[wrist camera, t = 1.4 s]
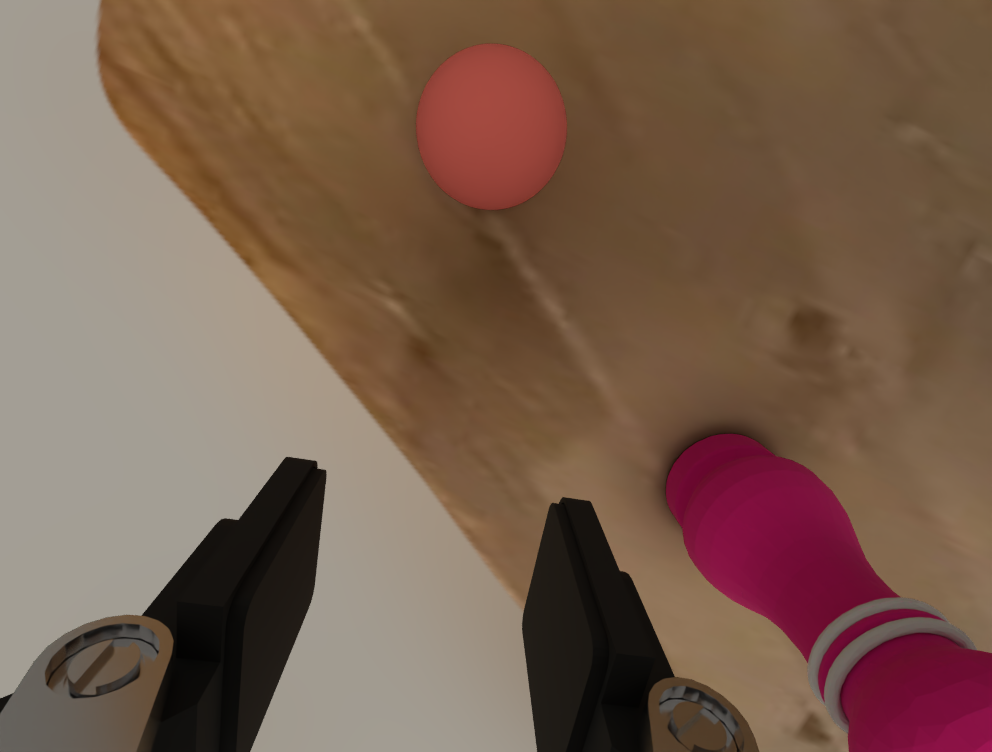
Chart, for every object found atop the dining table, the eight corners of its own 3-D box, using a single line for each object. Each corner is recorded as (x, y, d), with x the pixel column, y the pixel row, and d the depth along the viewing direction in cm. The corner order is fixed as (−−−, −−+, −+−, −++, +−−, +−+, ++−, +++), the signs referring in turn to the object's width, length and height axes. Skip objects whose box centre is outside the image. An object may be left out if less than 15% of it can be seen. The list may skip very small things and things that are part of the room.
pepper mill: (632, 510, 30) (908, 1021, 11) (701, 403, 28) (1169, 791, 9) (735, 556, 32) (1143, 1086, 12) (807, 456, 30) (1412, 894, 11)
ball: (567, 83, 24) (599, 42, 18) (539, 221, 25) (559, 224, 20) (433, 52, 23) (421, 0, 17) (414, 196, 25) (397, 191, 19)
